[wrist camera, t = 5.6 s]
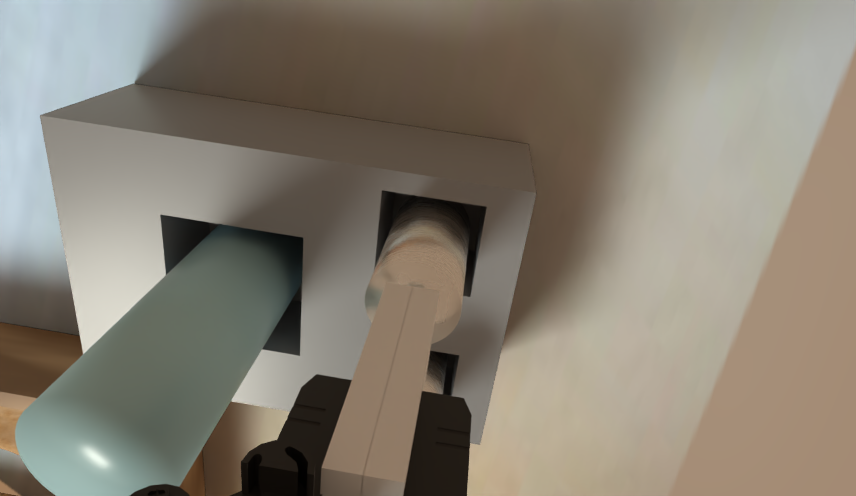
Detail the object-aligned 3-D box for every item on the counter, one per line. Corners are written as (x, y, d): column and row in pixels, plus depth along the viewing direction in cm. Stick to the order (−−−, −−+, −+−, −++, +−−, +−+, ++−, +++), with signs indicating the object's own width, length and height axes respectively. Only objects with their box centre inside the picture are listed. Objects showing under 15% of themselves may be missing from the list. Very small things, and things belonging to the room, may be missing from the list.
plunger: (464, 264, 24) (454, 352, 18) (392, 252, 24) (361, 337, 19) (475, 196, 22) (468, 271, 17) (399, 184, 23) (368, 255, 17)
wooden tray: (208, 540, 40) (172, 612, 36) (-67, 489, 41) (-135, 554, 37) (195, 355, 33) (148, 417, 29) (-138, 298, 34) (-235, 350, 29)
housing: (483, 361, 31) (479, 444, 26) (156, 306, 32) (87, 376, 26) (528, 144, 26) (536, 192, 20) (133, 83, 26) (40, 115, 21)
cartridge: (313, 292, 28) (183, 530, 16) (223, 278, 28) (31, 503, 16) (316, 209, 26) (170, 412, 14) (220, 193, 26) (-1, 381, 14)
